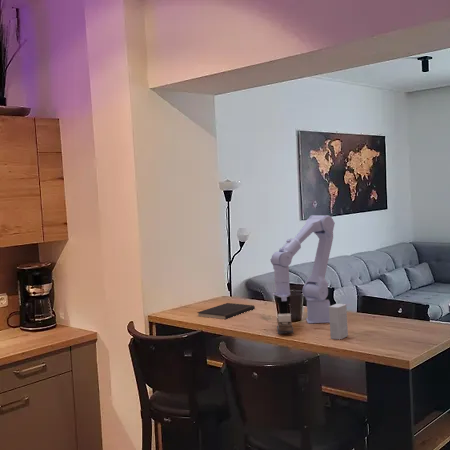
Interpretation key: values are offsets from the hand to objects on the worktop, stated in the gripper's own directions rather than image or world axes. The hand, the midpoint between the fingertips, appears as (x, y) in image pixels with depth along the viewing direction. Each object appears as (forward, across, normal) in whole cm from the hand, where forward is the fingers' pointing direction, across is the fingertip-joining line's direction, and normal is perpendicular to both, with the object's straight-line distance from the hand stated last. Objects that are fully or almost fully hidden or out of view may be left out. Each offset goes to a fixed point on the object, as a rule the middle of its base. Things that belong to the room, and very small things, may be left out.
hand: (283, 315), depth 231 cm
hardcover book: (+6, -35, -24) cm, 43 cm away
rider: (+2, +6, 0) cm, 6 cm away
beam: (+5, +5, 0) cm, 7 cm away
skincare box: (+5, +17, +19) cm, 26 cm away
